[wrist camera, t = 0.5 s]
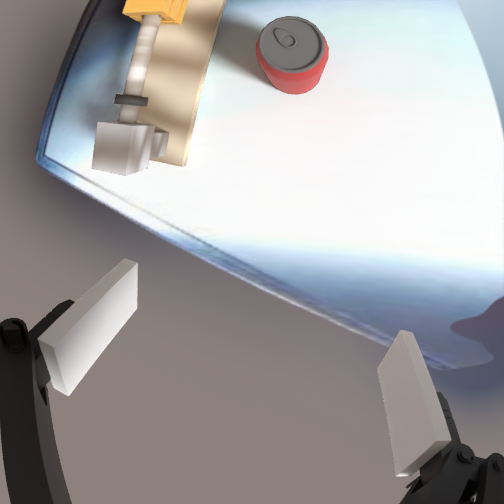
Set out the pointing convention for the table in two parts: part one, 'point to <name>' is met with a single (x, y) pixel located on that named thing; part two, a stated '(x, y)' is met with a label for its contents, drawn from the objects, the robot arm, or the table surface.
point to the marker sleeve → (157, 10)
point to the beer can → (292, 54)
